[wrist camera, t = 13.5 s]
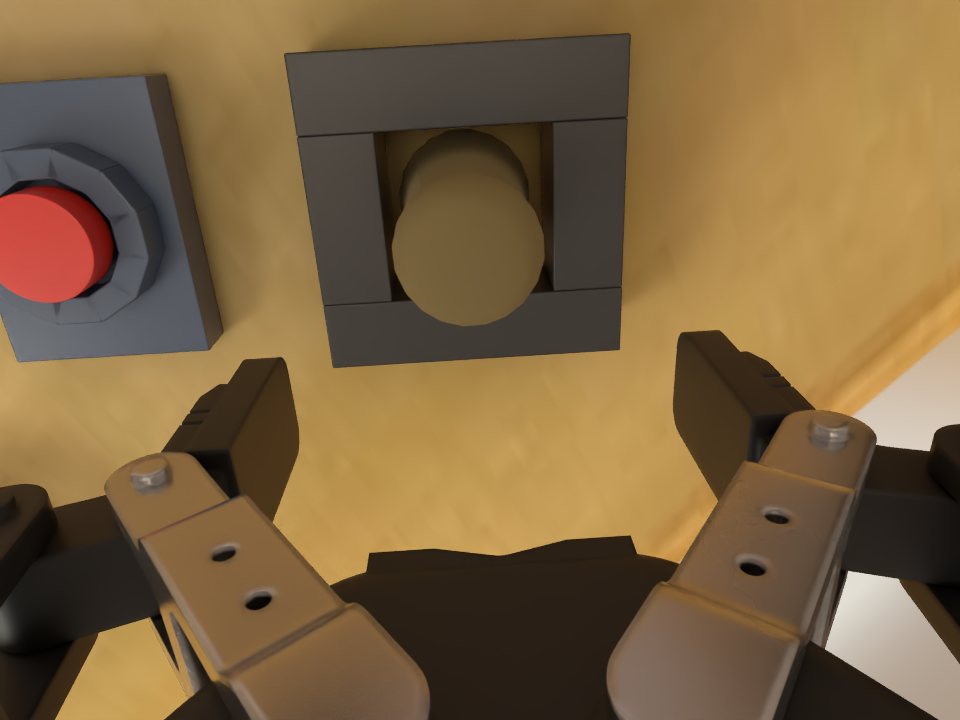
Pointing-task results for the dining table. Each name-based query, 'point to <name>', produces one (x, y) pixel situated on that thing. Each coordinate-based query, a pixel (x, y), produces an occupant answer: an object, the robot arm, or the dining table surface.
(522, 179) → the cork
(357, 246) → the socket
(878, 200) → the dining table surface
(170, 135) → the power block
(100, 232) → the power button
